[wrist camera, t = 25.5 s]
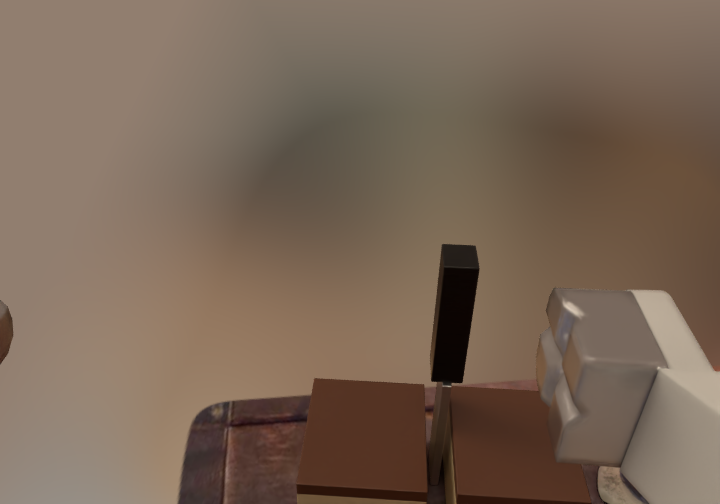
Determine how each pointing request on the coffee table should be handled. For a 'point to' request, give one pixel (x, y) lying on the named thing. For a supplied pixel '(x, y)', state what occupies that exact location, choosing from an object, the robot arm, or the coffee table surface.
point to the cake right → (504, 451)
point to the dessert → (617, 487)
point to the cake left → (364, 444)
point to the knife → (450, 337)
